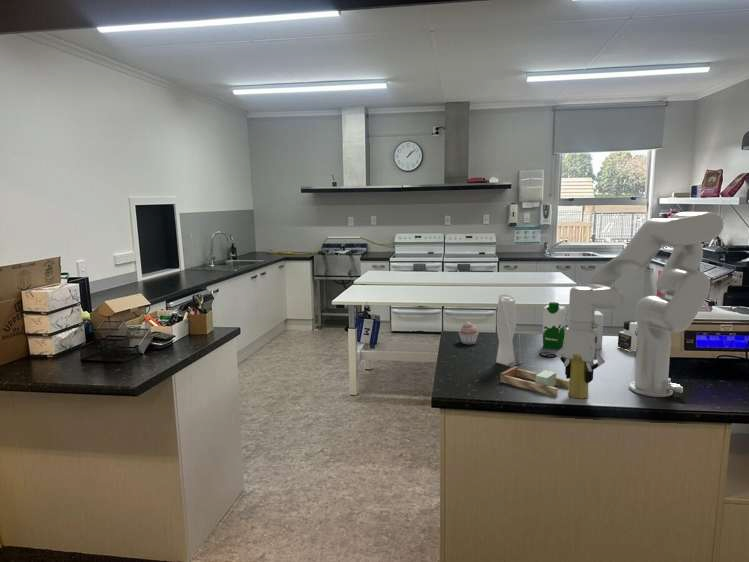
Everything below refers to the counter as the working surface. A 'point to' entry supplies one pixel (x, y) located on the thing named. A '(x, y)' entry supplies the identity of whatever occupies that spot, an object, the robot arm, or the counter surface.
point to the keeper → (546, 378)
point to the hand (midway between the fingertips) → (578, 379)
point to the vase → (578, 378)
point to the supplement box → (599, 320)
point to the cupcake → (468, 333)
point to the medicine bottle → (628, 336)
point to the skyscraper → (507, 332)
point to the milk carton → (553, 326)
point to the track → (514, 371)
